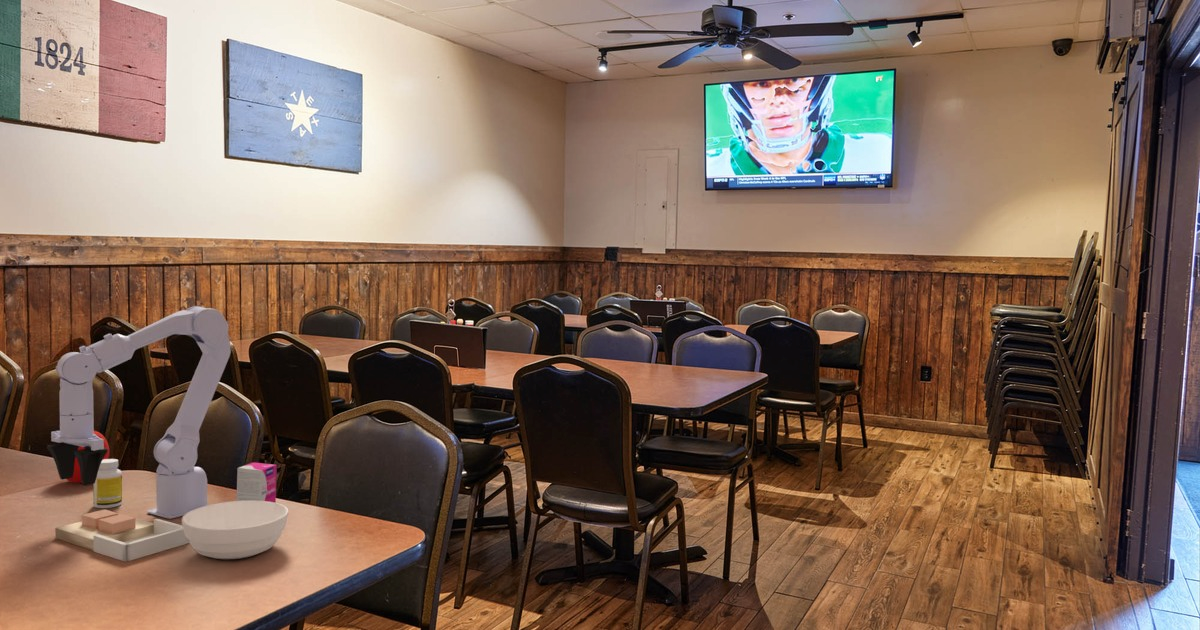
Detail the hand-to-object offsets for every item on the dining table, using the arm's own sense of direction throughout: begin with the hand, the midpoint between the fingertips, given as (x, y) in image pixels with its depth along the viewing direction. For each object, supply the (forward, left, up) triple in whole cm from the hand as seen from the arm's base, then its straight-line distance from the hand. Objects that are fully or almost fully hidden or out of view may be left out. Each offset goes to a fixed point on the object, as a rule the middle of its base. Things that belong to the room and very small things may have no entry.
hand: (77, 481), depth 172 cm
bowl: (-8, +37, -10) cm, 39 cm away
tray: (0, +21, -9) cm, 23 cm away
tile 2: (0, +13, -7) cm, 15 cm away
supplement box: (-23, +24, -10) cm, 35 cm away
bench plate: (0, +9, -9) cm, 13 cm away
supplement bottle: (-12, -10, -10) cm, 18 cm away
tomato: (-20, -34, -10) cm, 40 cm away
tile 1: (0, +7, -7) cm, 10 cm away
